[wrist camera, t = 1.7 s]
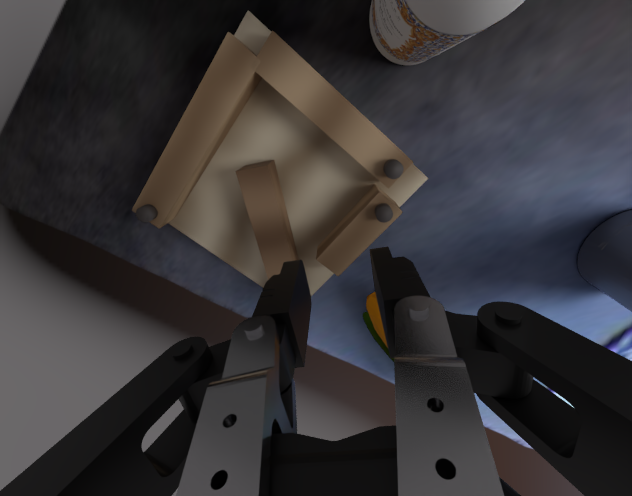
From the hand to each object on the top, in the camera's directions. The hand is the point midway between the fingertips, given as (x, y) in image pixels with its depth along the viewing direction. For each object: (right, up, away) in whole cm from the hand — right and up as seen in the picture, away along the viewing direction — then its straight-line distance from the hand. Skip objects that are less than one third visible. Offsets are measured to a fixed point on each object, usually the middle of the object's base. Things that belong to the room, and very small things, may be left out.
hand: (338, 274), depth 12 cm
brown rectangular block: (-5, +2, +18) cm, 19 cm away
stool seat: (-5, +7, +18) cm, 20 cm away
